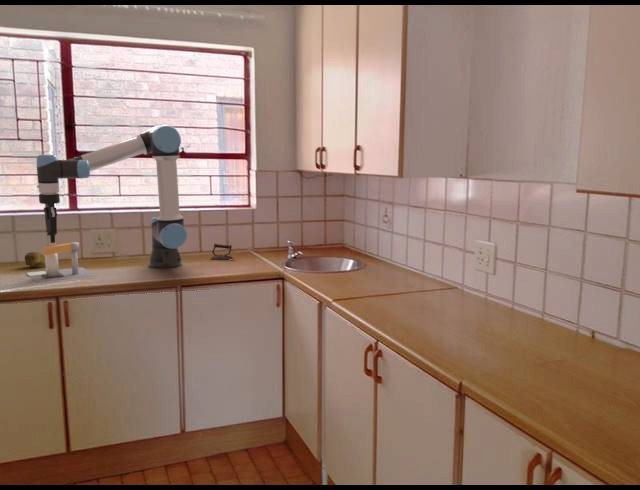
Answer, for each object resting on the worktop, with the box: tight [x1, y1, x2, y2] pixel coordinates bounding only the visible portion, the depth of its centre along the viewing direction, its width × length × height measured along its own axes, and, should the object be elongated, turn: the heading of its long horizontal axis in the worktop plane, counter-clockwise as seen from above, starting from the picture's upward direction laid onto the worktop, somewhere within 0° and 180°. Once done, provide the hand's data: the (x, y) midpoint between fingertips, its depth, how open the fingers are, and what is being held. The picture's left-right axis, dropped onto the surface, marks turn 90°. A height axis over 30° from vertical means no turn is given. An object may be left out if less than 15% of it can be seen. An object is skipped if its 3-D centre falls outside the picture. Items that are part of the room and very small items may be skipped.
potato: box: [24, 251, 46, 269], centre depth 253 cm, size 8×13×8 cm, turn 130°
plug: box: [45, 253, 60, 276], centre depth 234 cm, size 5×5×9 cm
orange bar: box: [42, 241, 80, 255], centre depth 233 cm, size 16×4×3 cm, turn 153°
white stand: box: [25, 250, 96, 285], centre depth 237 cm, size 23×21×11 cm
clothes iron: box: [209, 243, 234, 260], centre depth 281 cm, size 7×11×10 cm, turn 83°
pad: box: [26, 270, 46, 278], centre depth 238 cm, size 7×7×1 cm
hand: (52, 250), depth 231 cm, fingers closed
